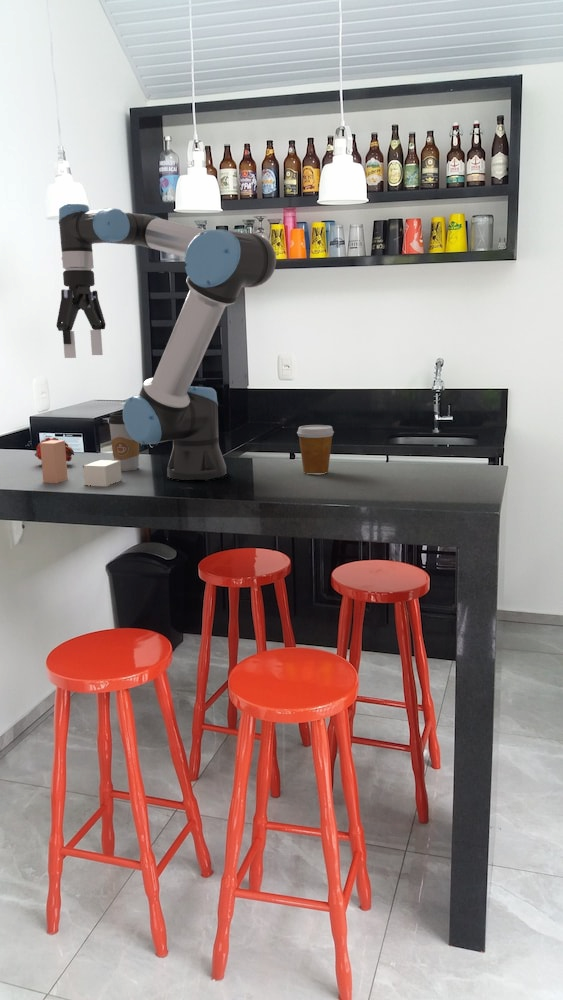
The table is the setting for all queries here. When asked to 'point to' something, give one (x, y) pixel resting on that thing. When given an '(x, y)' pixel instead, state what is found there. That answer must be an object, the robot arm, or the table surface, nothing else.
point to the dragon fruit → (68, 449)
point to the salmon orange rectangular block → (53, 461)
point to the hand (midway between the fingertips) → (84, 356)
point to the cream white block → (102, 472)
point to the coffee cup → (123, 444)
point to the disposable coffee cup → (315, 447)
